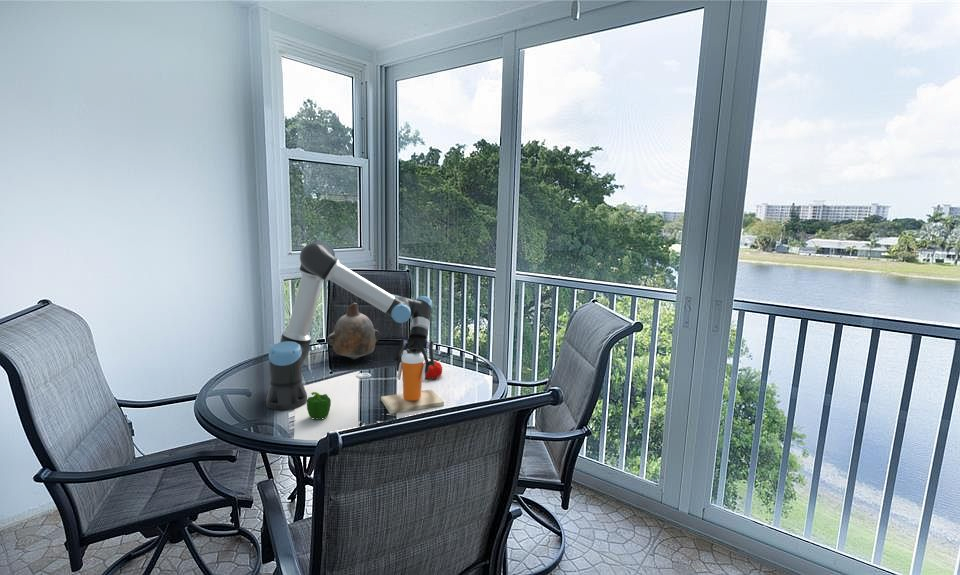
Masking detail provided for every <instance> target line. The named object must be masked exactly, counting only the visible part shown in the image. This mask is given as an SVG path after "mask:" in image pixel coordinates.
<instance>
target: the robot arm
mask: <svg viewBox="0 0 960 575" xmlns="http://www.w3.org/2000/svg"><path fill="white" fill-rule="evenodd" d="M299 260H300V267H299V272H300V274H301V277H300V278H301V279H300V282H299V284H298V289H297V292H296V297H295V300H294V304H293V308H292V311H291V315H290V318H289V319H290V320H289V321H288V327H287V329H285V330H283V331H282V333H281V334H282V335H281V338H280V341H279V342H277V343H274V344H272V346H271V347H270V348H269V351H268V362H269V364H268V365H269V367H268V368H269V382H270V383H269V384H270V385H269V389H268V392H267V396H266V399H265V405H266V407H267V408H269V409H271V410H275V411H287V410H292V409H297V408H299V407H301V406H304V405H305V404H307V399H308V394H307V391H306V389H305V386H304V383H303V373H302V372H303V371H302V368H303V367H302V366H303V363H304V361H305V360H306V359H307V357H308V356H309V353H310V345H311V341H312V336H311V334H310V330H311V328H312V327H311V326H312V323H313V319H314V316H315V311H316V308H317V306H318V303H319V302H318V301H319V298H320V294H321V291H322V287H323V283H324V281H331V282H332V283H334V284H335V285H338V286H339V287H340V288H342V289H344V290H346V291H347V292H348V293H351V294H353V295H354V296H356V297H357V298H359V299H361V300H362V301H364V302H366V303H367V304H370V305H371V306H373V307H375V308H376V309H378V310H379V311H381V312H383V313H385V314H386V315H388V316H390V317H391V318H392V320H393V321H394V322H395V323H398V324H404V323H406V322H408V321H409V319H410V318H412V320H411V325H410V330H409V335H408V338H407V339H400V342H399V343H400V344H399V346H398V348H397V350H396V353H395V355H394V357H393V361H394V363H396V366H395V367H396V368H395V369H396V372H397V376H396V378H397V380H398V381H401V379H402V378H401V377H402V361H401V359H402V355H403V351H404V348H405V346H406V345H407V346H406V349H407V348H411V349H420V350H422V351H421V353H422V354H423V356H424V363H425V362H426V364H424V366H423V372H422V378H421V379H422V382H425V378H426V377H425V373H428V370H429V366H430V365H434V361H435V360H434V351H433V350H434V346H435V345H434V342H433V340H431V341H428V335H429V330H430V321H431V316H432V310H433V301H432V299H431V298H430V297H428V296H425V295H424V296H418V297H417V298H416V299H412V298H408V297H405V296H401V295H397V294H391V293H390V292H388V291H386V290H384V289H383V288H381V287H379V286H377V284H374V283H373V282H371V281H369V280H368V279H366V277H363V276H361V275H360V274H358V273H356V272H355V271H353V270H351V269H350V268H349V267H347V266H346V265H344V264H342V263H341V262H340V259H338V258H337V257H336V254H335V250H334V248H333V247H332V245H330V243H328V242H326V241H324V240H323V241H322V240H314V241H311V242H310V243H308V244H306V245H305V246H304V247H303V248H302V249H301V251H300V254H299ZM426 346H427V347H428V349H429V357H430V360H429V359H428V357H427V353H426V351H425V347H426Z"/></svg>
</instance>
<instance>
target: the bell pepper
mask: <svg viewBox="0 0 960 575" xmlns="http://www.w3.org/2000/svg"><path fill="white" fill-rule="evenodd" d="M310 395H312V396H309V397H308V396H307V402H306V410H307V413H308V417H310V419H312V418H314V419H313V420H323V419H322V418H324V419H326V418H328V416H329V414H330V411H331V410H330V409H331V405H332V401H331V400H332V399H331V398H330V397H329V395H328V394H327V393H324V394H320V393H319V392H317V391H312V392H311V393H310ZM325 417H326V418H325ZM316 418H318V419H316Z"/></svg>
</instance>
